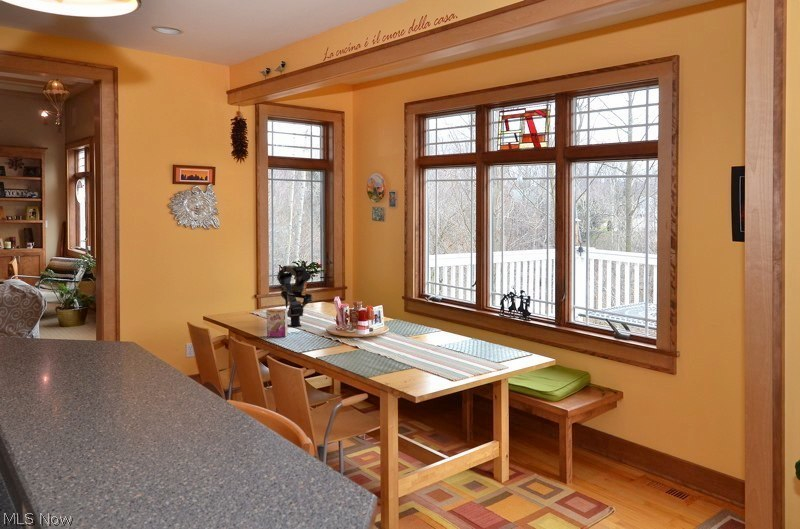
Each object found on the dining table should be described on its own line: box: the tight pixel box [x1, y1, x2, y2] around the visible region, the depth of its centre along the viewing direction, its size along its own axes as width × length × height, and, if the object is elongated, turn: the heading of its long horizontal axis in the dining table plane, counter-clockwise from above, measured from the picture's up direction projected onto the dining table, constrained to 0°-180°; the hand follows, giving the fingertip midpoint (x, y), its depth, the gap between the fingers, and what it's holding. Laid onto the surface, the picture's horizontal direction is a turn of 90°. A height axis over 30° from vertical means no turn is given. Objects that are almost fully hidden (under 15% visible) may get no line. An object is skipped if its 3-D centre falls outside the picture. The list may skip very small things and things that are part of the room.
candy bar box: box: [266, 308, 289, 338], centre depth 378 cm, size 11×5×16 cm, turn 84°
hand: (293, 308), depth 388 cm, fingers open, 9 cm apart
